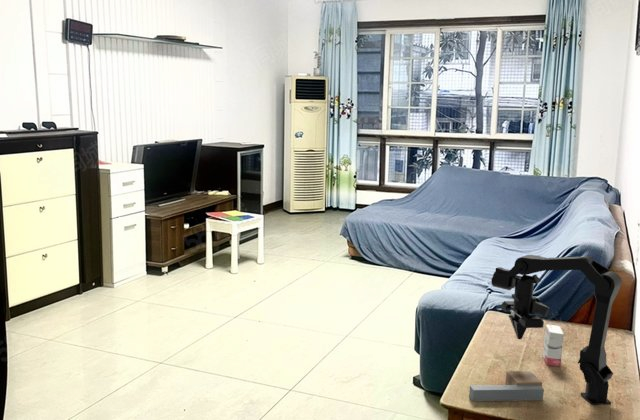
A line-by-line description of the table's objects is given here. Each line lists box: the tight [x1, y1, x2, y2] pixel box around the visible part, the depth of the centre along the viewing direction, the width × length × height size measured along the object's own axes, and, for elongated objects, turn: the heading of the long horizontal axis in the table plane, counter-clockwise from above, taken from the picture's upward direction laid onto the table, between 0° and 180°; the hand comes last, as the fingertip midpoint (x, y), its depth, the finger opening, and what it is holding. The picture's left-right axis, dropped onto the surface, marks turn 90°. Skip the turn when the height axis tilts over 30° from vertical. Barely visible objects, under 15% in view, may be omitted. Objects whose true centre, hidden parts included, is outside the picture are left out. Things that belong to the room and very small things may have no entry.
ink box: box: [542, 324, 565, 367], centre depth 212 cm, size 9×5×12 cm, turn 168°
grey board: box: [468, 384, 545, 402], centre depth 183 cm, size 3×22×4 cm, turn 96°
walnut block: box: [504, 370, 543, 388], centre depth 189 cm, size 8×8×4 cm
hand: (519, 338), depth 200 cm, fingers closed
